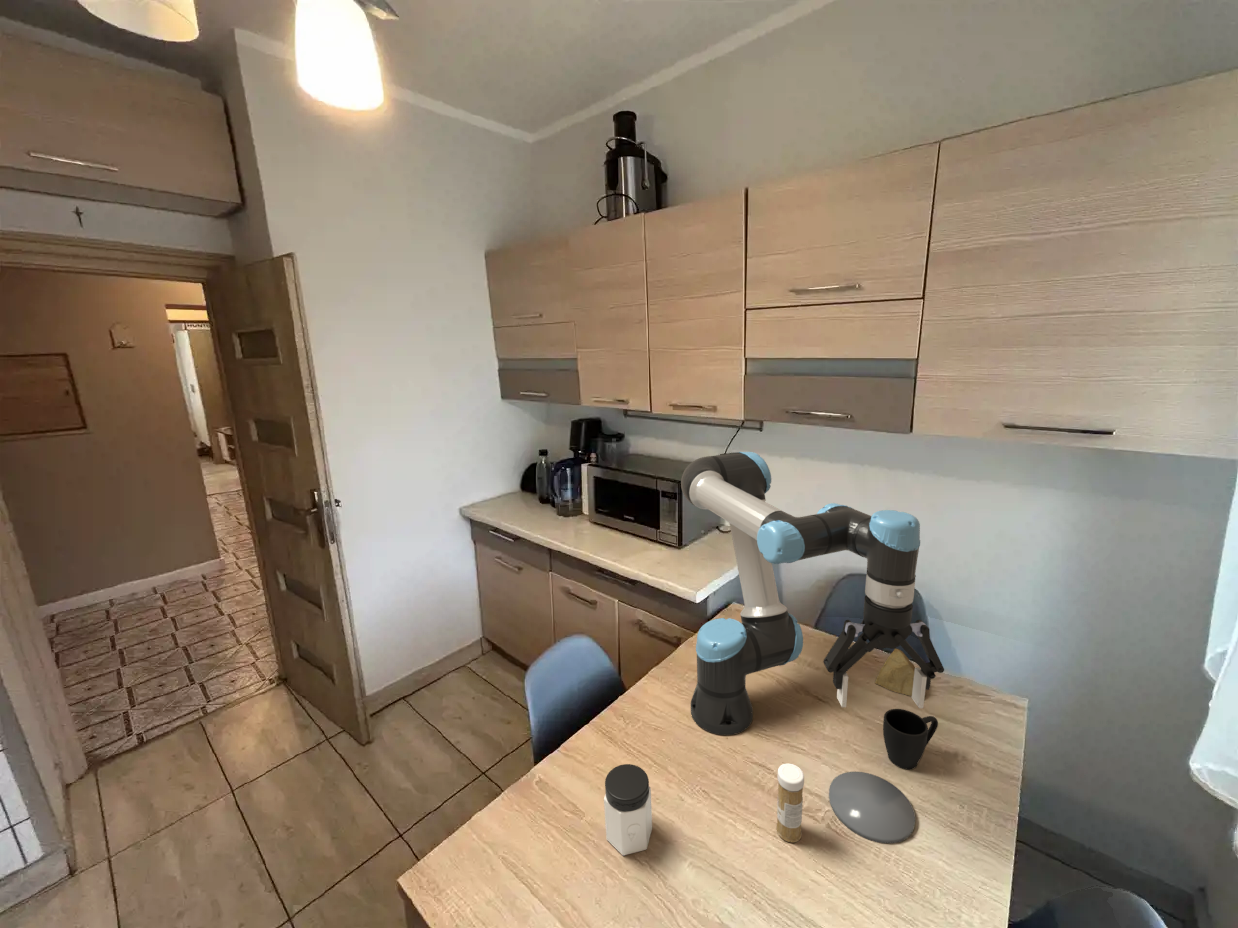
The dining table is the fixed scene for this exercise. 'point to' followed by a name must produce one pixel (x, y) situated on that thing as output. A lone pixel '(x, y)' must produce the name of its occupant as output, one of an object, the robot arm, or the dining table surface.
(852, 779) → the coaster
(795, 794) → the sprinkles bottle
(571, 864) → the dining table surface
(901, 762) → the mug
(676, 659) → the dining table surface
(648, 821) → the jar
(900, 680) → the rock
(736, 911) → the dining table surface
